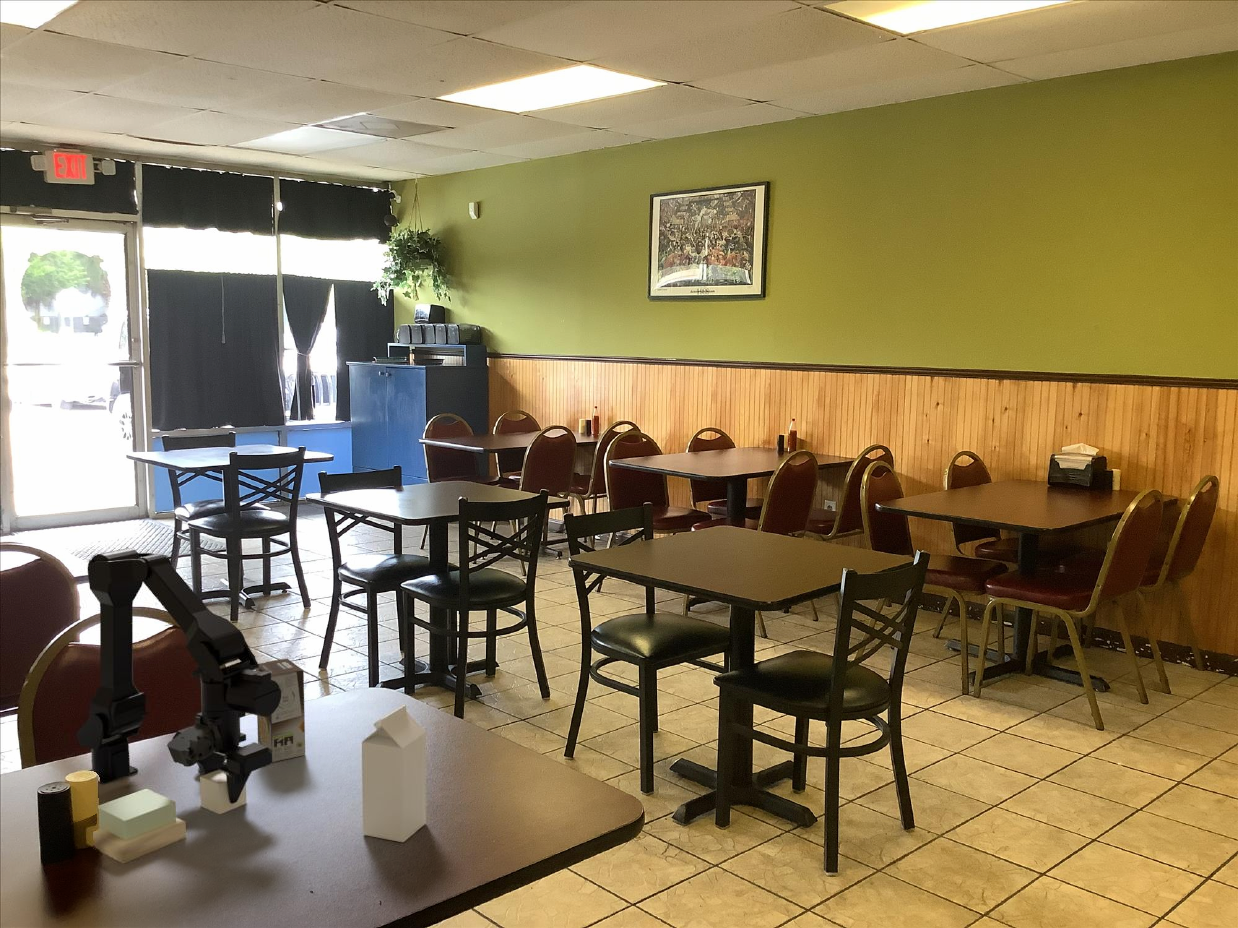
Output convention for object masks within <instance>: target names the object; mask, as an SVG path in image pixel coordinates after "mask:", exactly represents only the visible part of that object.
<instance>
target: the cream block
mask: <svg viewBox="0 0 1238 928" xmlns="http://www.w3.org/2000/svg"><path fill="white" fill-rule="evenodd" d="M199 792H200V797H199V798H200V807H201V808H204V809H206V810H209V811H211V812H213V813H216V814H218V815H221V814H223V813H226V812H228V811H231V810H234V809H236V808H238V807H241V806H243V805H245V804H247V783H246V784H245V786H244V788H243V790H242V792H241V794H240V797H239V799H238V801H237V802H235V803H233V804H231V803H230V800H229V794H228V786H227V778H226V774H224V773H223V772H222V771H220V770H216V771H214V772H211V773H208V774H206V775H203V776H202V775H201V776H199Z"/></svg>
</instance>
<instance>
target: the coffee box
mask: <svg viewBox="0 0 1238 928" xmlns="http://www.w3.org/2000/svg"><path fill="white" fill-rule="evenodd" d="M258 664H259V667H258V668H257V669H255V671H259V672H270V673H271V680H273V681H275V682H277V684H278V685H279V688H280V690H281V700H280V703H279V706H278V707H277V709H276V711H275V712H274V713H273V714H271V715H270V716H267V717H262V716H258V715H256V717H257V743H258V744H261V745H263V746H266V747H268V748H270V749H271V750H272V751H273V763H275V762H279V761H284V760H290V759H292V758H297V757H302V756H305V755H306V729H305V727H306V725H305V724H306V723H305V722H306V721H305V717H306V716H305V674H304V673H305V672H304V669H302V668H301V667H300V666H299V665H297V664H296V663H294V662H293V661H291V659H289V658H283V659H275V660H270V661H266V662H261V663H258Z"/></svg>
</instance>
